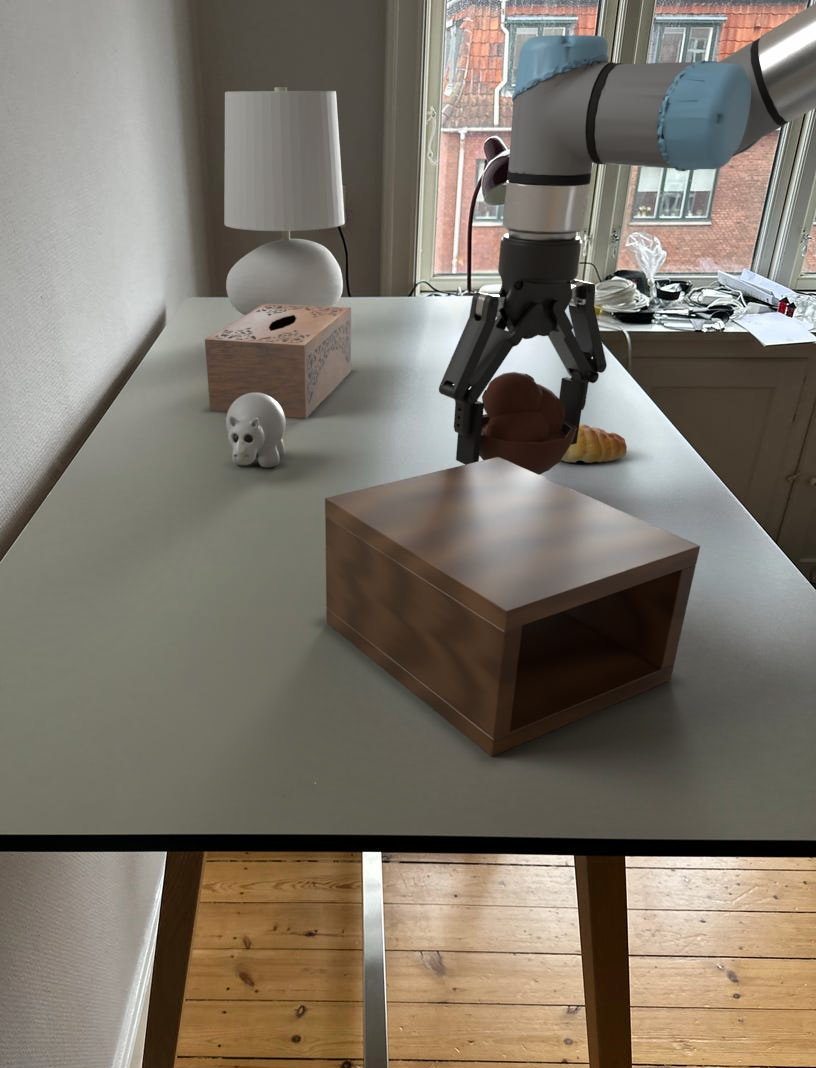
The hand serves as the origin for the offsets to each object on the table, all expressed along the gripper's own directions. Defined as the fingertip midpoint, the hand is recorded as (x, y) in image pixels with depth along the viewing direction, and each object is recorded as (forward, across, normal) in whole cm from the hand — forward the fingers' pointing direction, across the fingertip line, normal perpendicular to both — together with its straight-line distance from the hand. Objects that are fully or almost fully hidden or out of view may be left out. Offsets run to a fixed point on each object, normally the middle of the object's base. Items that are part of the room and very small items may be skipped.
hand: (517, 452), depth 97 cm
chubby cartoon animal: (+7, +18, -27) cm, 33 cm away
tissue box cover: (+7, -2, -55) cm, 55 cm away
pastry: (+7, -19, -9) cm, 22 cm away
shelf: (+7, +21, +21) cm, 31 cm away
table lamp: (+8, -21, -89) cm, 91 cm away
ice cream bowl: (+7, 0, 0) cm, 7 cm away
